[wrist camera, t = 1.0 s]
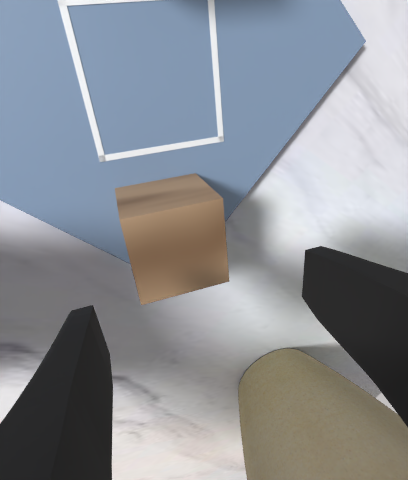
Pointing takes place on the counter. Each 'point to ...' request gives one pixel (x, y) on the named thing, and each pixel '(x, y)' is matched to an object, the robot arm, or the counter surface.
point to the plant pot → (315, 424)
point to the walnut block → (173, 236)
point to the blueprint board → (154, 98)
